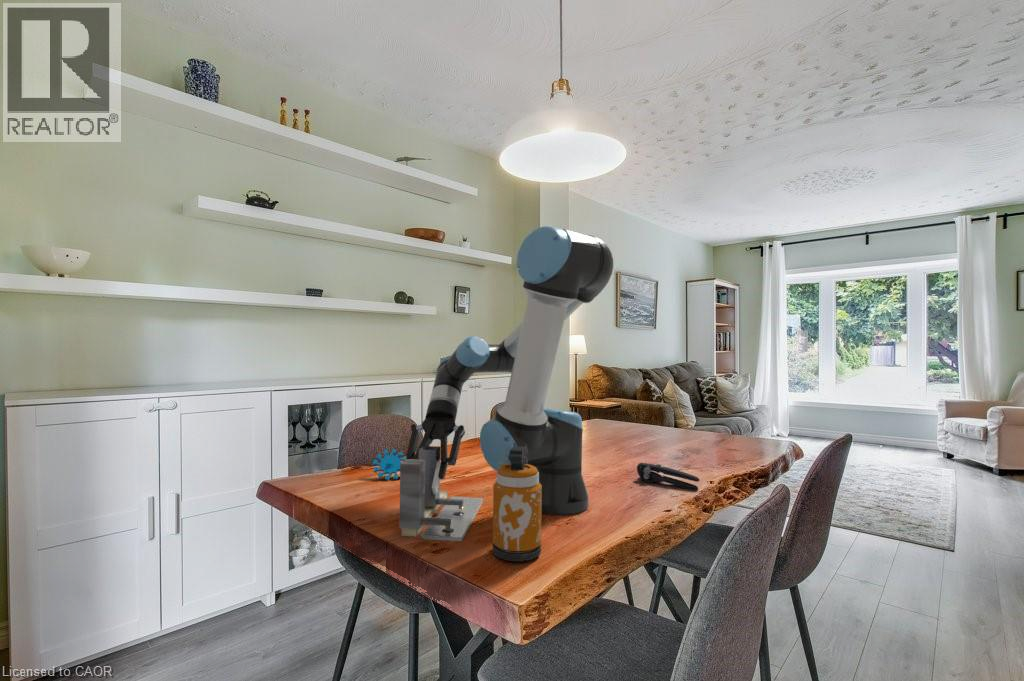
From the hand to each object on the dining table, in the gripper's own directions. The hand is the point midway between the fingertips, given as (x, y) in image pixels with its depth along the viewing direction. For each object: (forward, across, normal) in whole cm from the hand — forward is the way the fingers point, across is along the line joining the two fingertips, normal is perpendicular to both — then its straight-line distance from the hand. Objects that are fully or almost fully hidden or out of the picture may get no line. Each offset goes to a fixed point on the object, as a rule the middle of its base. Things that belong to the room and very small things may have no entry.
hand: (424, 490), depth 107 cm
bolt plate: (+4, -7, -5) cm, 9 cm away
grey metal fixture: (+2, -3, -6) cm, 7 cm away
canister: (+15, -22, +5) cm, 27 cm away
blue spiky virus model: (-18, +19, -26) cm, 37 cm away
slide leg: (+1, -3, -6) cm, 7 cm away
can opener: (-21, -60, -31) cm, 71 cm away
